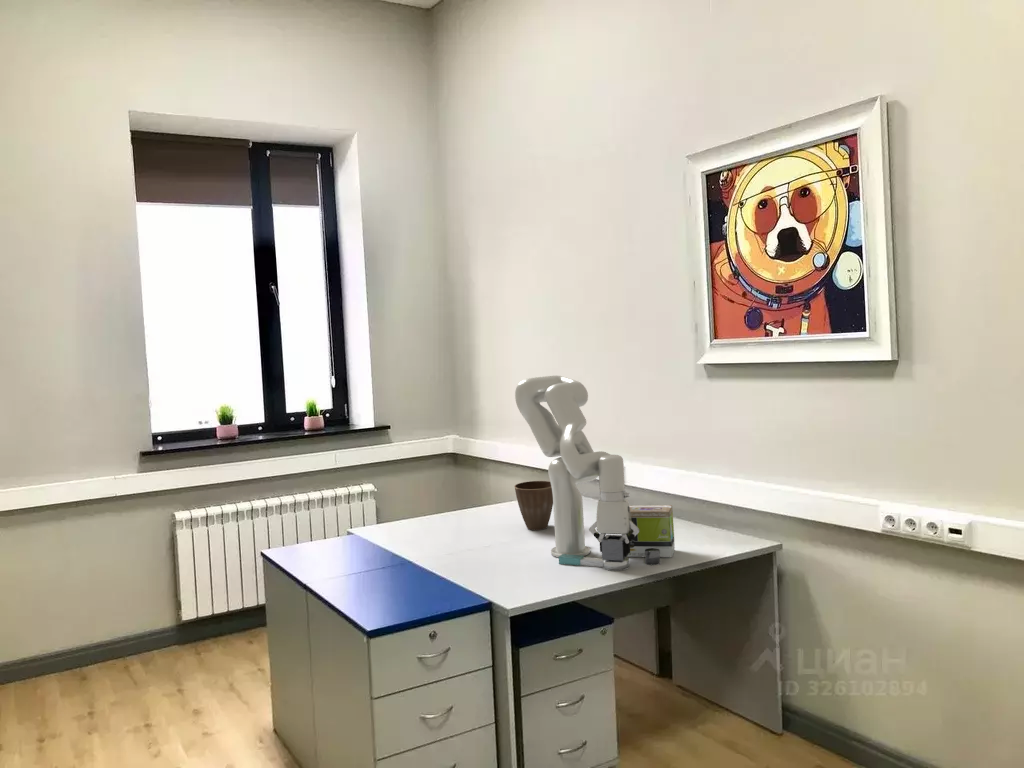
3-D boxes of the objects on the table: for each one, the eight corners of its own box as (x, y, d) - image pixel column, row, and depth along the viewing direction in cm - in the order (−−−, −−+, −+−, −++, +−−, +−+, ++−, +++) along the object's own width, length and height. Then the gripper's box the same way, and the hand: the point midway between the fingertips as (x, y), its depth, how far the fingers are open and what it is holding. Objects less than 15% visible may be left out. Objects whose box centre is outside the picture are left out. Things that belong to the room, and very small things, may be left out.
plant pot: (558, 531, 299) (555, 487, 298) (516, 534, 299) (514, 489, 298) (556, 522, 314) (554, 479, 312) (517, 524, 314) (514, 482, 313)
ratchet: (632, 564, 255) (631, 545, 254) (624, 571, 247) (623, 552, 247) (565, 558, 264) (564, 540, 264) (556, 566, 257) (555, 547, 257)
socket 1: (607, 553, 257) (606, 534, 256) (628, 554, 254) (627, 535, 254) (602, 559, 251) (601, 540, 250) (623, 560, 248) (622, 540, 248)
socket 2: (647, 560, 258) (646, 547, 257) (661, 561, 256) (660, 548, 256) (644, 564, 254) (643, 551, 253) (658, 565, 252) (657, 552, 252)
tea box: (675, 549, 268) (673, 504, 267) (672, 558, 258) (670, 511, 257) (628, 548, 272) (626, 504, 271) (623, 557, 263) (621, 511, 261)
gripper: (643, 494, 252) (646, 552, 253) (588, 492, 258) (591, 550, 259) (638, 499, 245) (640, 559, 246) (581, 498, 251) (584, 556, 252)
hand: (615, 554), depth 253 cm, fingers closed on socket 1, 6 cm apart
